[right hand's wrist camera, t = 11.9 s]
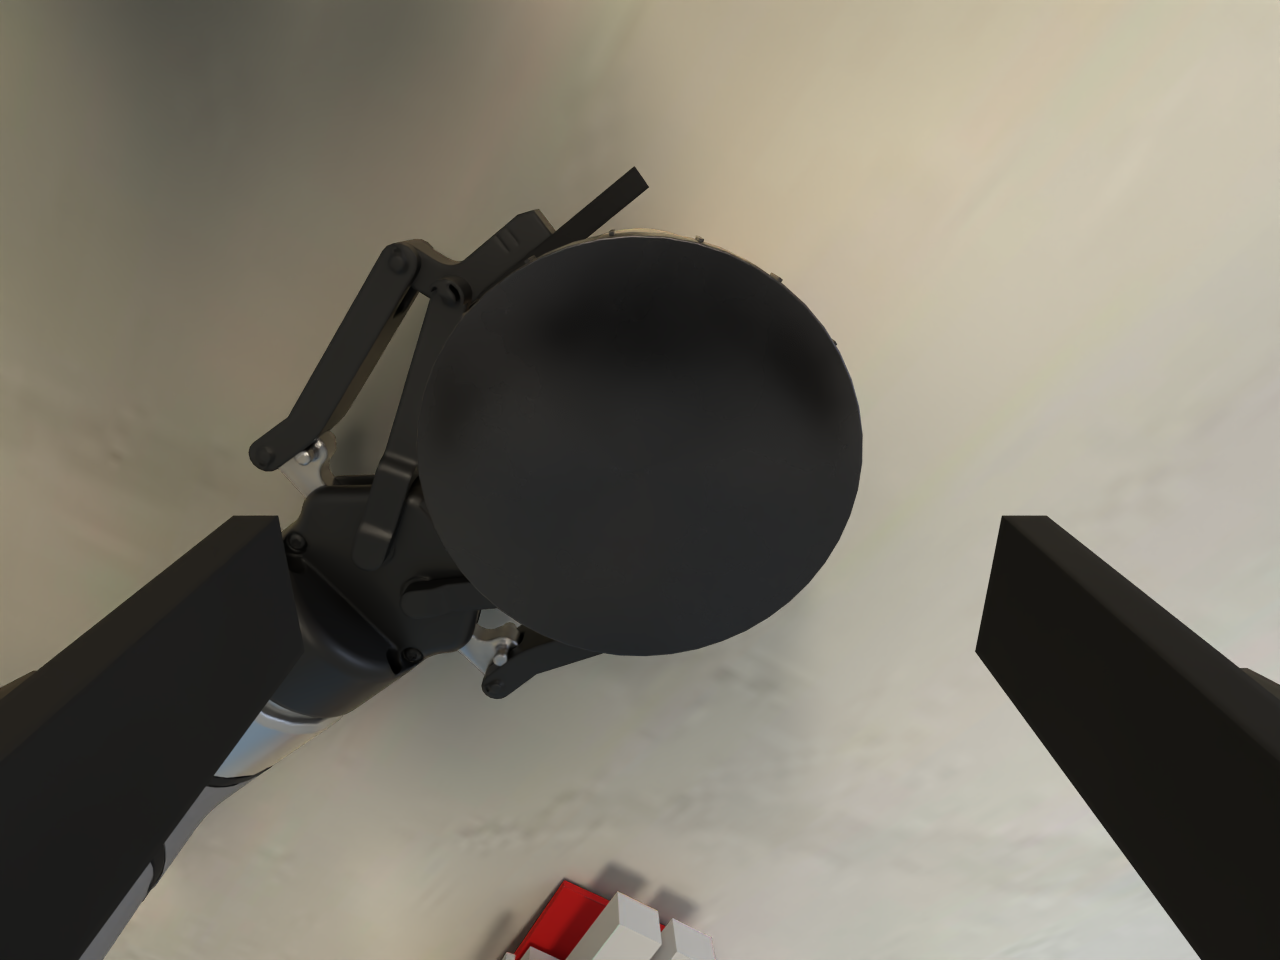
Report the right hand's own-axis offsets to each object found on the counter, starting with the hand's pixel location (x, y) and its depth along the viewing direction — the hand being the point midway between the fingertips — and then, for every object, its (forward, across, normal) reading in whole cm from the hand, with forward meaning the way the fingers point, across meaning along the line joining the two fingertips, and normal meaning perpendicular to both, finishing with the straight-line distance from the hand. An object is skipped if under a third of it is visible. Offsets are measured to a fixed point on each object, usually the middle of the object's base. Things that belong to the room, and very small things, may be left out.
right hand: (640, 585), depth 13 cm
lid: (+6, 0, 0) cm, 6 cm away
